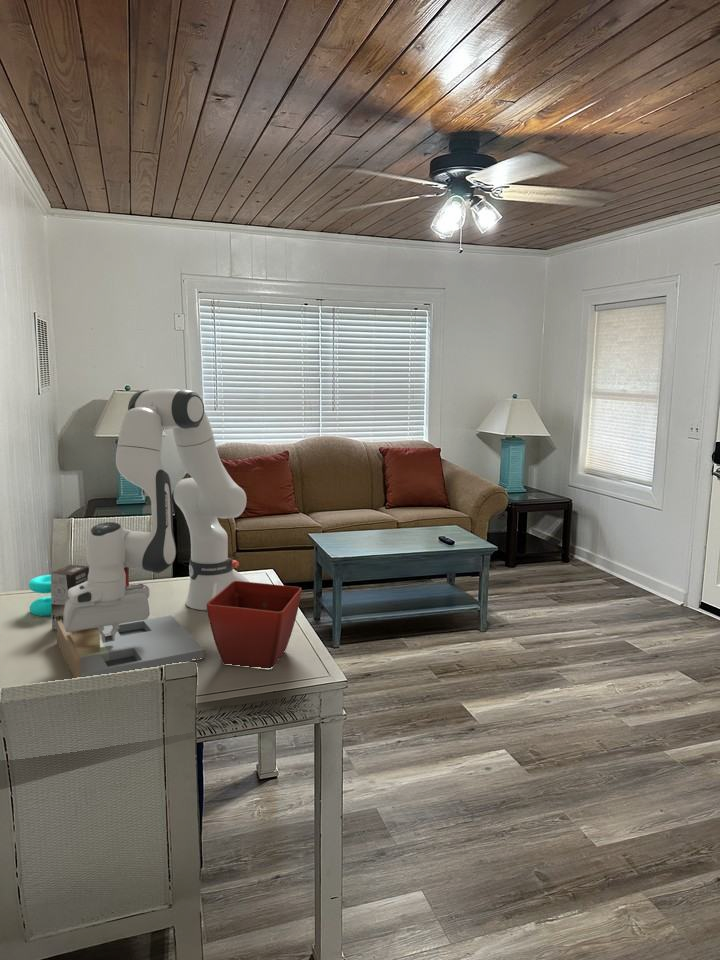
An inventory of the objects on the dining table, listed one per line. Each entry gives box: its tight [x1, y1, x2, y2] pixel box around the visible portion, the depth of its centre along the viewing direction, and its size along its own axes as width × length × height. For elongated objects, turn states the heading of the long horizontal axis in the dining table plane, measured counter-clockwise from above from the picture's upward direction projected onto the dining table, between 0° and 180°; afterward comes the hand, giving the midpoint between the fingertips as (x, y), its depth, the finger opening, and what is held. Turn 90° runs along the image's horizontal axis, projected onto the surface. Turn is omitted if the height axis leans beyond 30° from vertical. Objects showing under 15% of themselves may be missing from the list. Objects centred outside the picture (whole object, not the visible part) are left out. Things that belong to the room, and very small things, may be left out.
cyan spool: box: [28, 574, 52, 617], centre depth 195 cm, size 10×10×10 cm
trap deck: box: [56, 614, 205, 679], centre depth 170 cm, size 30×27×6 cm
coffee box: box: [50, 564, 89, 632], centre depth 185 cm, size 9×6×16 cm
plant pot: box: [206, 581, 302, 668], centre depth 168 cm, size 19×19×17 cm
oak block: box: [69, 628, 100, 655], centre depth 164 cm, size 6×6×5 cm
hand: (108, 641), depth 167 cm, fingers closed
